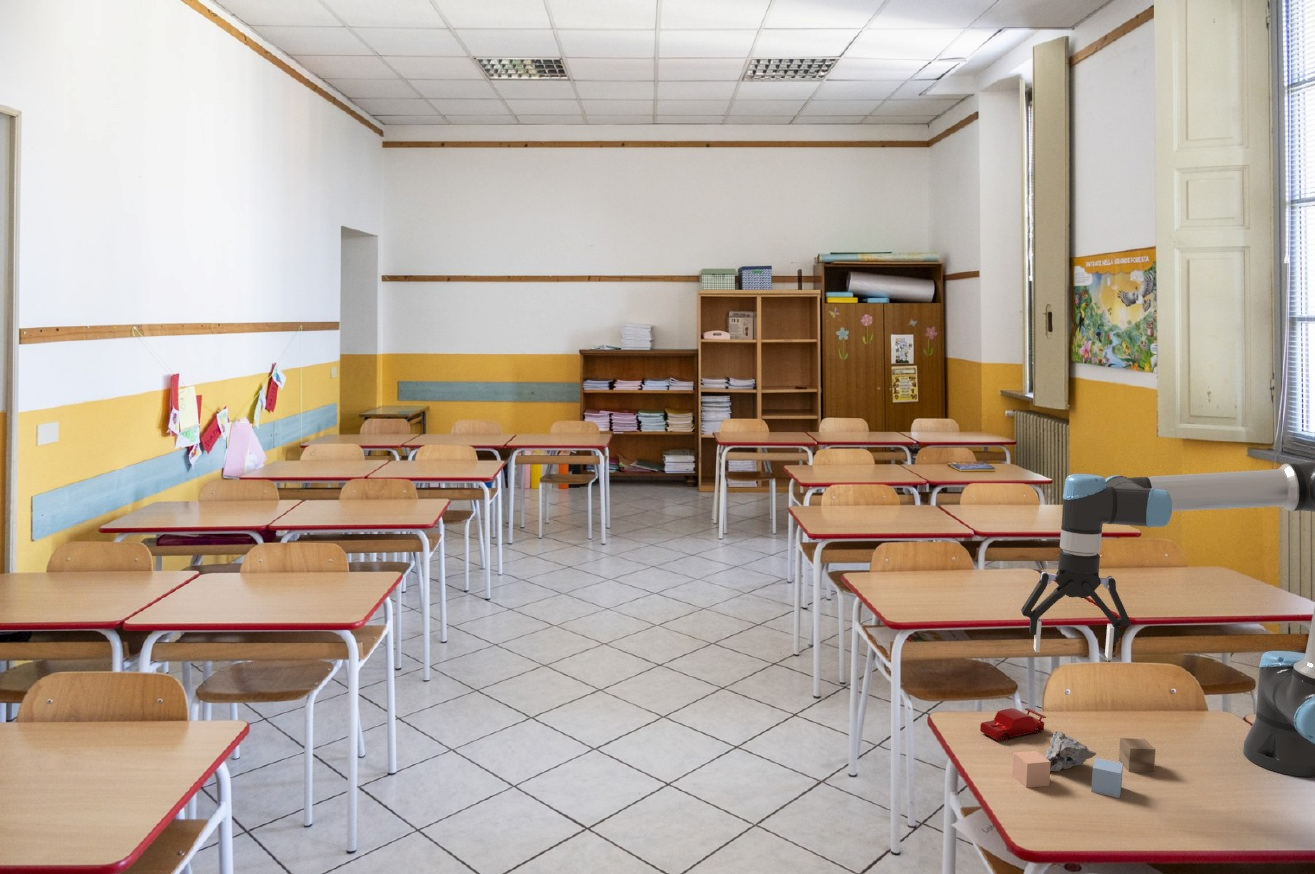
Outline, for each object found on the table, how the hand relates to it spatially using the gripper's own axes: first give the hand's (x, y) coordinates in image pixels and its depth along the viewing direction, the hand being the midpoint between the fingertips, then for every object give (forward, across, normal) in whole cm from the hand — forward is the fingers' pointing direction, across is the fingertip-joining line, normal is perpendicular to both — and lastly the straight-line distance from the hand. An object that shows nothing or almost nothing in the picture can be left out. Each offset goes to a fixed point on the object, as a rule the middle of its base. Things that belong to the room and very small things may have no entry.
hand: (1072, 653), depth 197 cm
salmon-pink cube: (+24, +7, +9) cm, 27 cm away
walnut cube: (+24, -14, -4) cm, 28 cm away
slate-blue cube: (+24, -7, +9) cm, 26 cm away
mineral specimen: (+24, 0, 0) cm, 24 cm away
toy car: (+25, +8, -14) cm, 30 cm away
